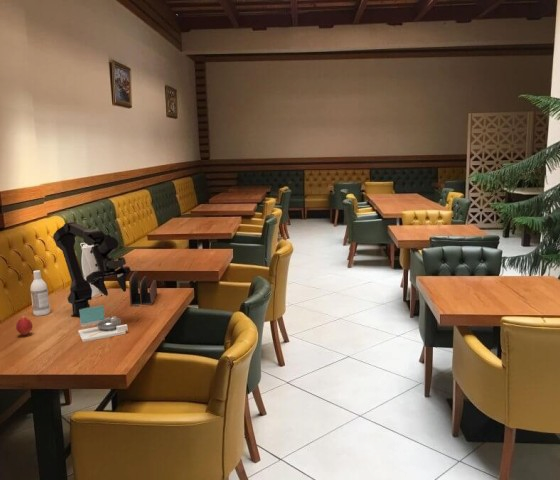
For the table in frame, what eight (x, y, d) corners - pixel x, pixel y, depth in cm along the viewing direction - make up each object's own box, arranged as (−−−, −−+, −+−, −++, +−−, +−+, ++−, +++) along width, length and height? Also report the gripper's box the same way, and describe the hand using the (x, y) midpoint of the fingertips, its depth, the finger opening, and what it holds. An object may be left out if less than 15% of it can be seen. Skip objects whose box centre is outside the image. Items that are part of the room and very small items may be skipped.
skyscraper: (92, 298, 256) (86, 243, 252) (81, 297, 260) (75, 242, 256) (105, 294, 263) (100, 240, 259) (94, 292, 267) (89, 240, 263)
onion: (17, 338, 202) (14, 319, 201) (17, 334, 207) (14, 315, 206) (33, 335, 205) (31, 316, 203) (33, 331, 210) (30, 312, 208)
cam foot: (118, 320, 214) (116, 300, 212) (123, 326, 206) (121, 305, 204) (80, 328, 206) (77, 306, 205) (83, 334, 199) (81, 312, 197)
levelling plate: (121, 324, 214) (120, 317, 214) (128, 333, 204) (127, 325, 203) (78, 332, 206) (77, 325, 206) (83, 342, 196) (82, 334, 195)
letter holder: (130, 307, 240) (127, 277, 237) (137, 295, 259) (135, 268, 257) (152, 305, 241) (149, 276, 238) (157, 294, 260) (155, 267, 258)
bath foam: (33, 312, 236) (28, 270, 233) (50, 310, 239) (45, 268, 236) (33, 316, 230) (27, 273, 227) (50, 314, 233) (44, 271, 229)
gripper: (95, 253, 200) (109, 290, 198) (132, 248, 216) (145, 282, 214) (79, 264, 206) (93, 300, 203) (116, 259, 222) (129, 292, 219)
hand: (116, 293), depth 210 cm, fingers open, 9 cm apart
